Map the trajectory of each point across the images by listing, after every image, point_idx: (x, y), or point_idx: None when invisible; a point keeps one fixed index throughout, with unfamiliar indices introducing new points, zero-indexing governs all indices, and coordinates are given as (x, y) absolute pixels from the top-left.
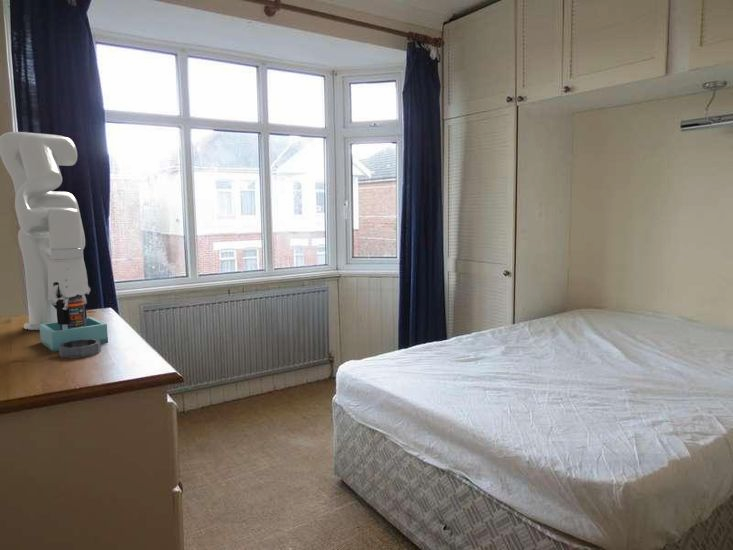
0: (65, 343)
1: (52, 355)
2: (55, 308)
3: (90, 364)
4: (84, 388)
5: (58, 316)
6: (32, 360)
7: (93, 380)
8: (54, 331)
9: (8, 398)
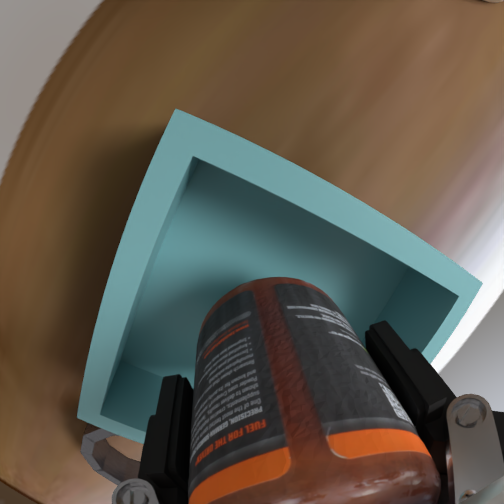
0: (115, 434)
1: (81, 386)
2: (118, 497)
3: (111, 492)
4: None
5: (146, 445)
6: (22, 369)
7: None
8: (93, 417)
9: None
